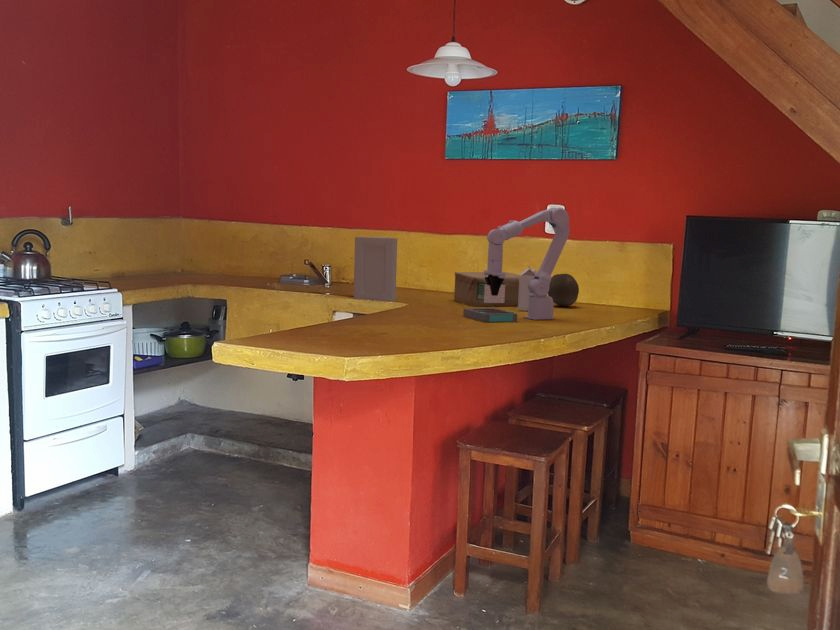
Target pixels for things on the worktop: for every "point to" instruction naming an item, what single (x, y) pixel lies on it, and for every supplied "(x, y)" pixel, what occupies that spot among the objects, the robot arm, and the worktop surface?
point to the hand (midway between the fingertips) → (493, 295)
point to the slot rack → (490, 315)
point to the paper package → (483, 289)
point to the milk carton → (524, 288)
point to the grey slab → (494, 299)
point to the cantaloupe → (563, 290)
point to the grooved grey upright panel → (375, 268)
